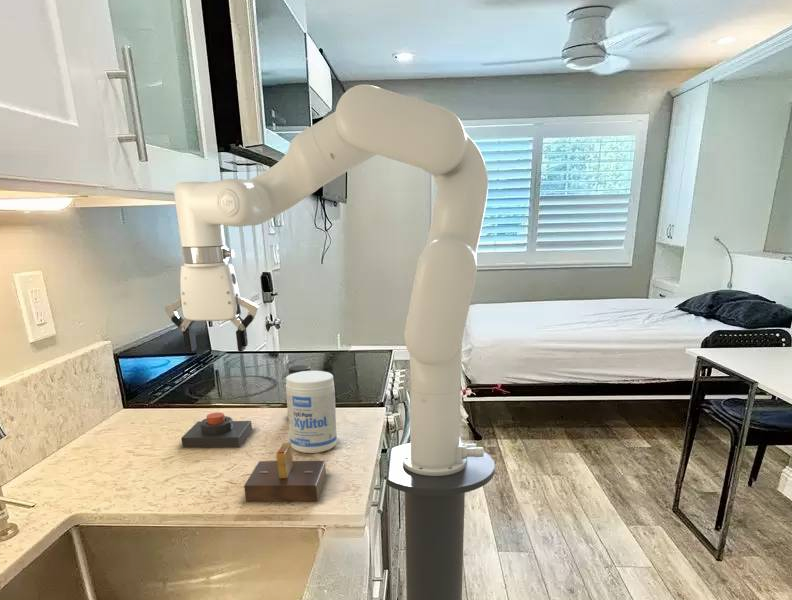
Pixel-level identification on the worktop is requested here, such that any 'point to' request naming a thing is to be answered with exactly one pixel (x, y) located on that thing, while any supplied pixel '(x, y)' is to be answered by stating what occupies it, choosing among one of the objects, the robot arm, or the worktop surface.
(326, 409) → the supplement tub
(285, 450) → the thumb turn
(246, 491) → the plate
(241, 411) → the worktop surface
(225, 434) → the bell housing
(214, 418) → the bell button
